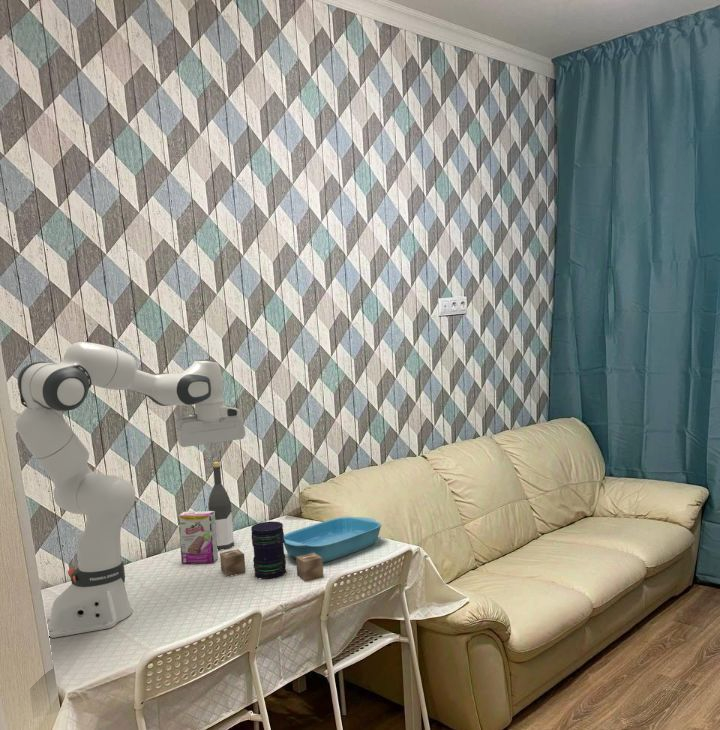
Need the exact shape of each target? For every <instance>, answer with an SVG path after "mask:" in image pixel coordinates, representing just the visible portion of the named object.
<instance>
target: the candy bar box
mask: <svg viewBox="0 0 720 730" xmlns="http://www.w3.org/2000/svg"><path fill="white" fill-rule="evenodd" d="M177 518H178V519H177V520H178V530H179V531H178V533H179V542H180V556H181V558H180V559H181V564H182V565H186V563H188V564H190V563H195V564H214V563H215V562H216V561H217V560H218V559H219V552H218V551H219V550H217V537H216V523H215V511H209V510H206V511H205V510H204V511H203V510H202V511H183V512H181V513H180V514H179V515H178V517H177ZM217 558H218V559H217ZM216 559H217V560H216ZM188 564H187V565H188ZM190 565H191V564H190Z"/></svg>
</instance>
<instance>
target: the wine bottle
mask: <svg viewBox="0 0 720 730" xmlns="http://www.w3.org/2000/svg"><path fill="white" fill-rule="evenodd" d="M212 470H213V481H214V483H213V487H212V489H211V492H210V494H209V498H208V504H207V505H208V507H207V508H208V511H215V523H216V537H217V549H224V550H228V549H227V548H229V549H231V548H233V547H234V546H235V540H234V525H233V514H232V502H231V499H230V497H229V494H228V492H227V490H226V488H224V486H223V484H222V477H221V475H222V474H221V472H222V471H221V465H220V462H219V461H215V462H213V466H212ZM232 546H233V547H232ZM230 547H231V548H230Z"/></svg>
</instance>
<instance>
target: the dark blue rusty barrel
mask: <svg viewBox="0 0 720 730" xmlns="http://www.w3.org/2000/svg"><path fill="white" fill-rule="evenodd" d="M283 528H284V524H283V523H282V522H280V521H264V522H259V523H258V522H257V523H255V524H253V525H252V526H251V527H250V530H251V544H252V548H253V560H252V561H253V569H254V570H253V571H254V577H255V578H256V577H257V578H256V579H258V578H261V579H260V580H274V579H273V578H275V579H278V577H279V578H281V577H284V576H285V575H286V574H287V567H286V566H287V565H286V564H287V561H286V554H285V546H284V535H285V533H284V529H283ZM285 573H286V574H285ZM284 574H285V575H284Z"/></svg>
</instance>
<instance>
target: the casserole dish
mask: <svg viewBox="0 0 720 730" xmlns="http://www.w3.org/2000/svg"><path fill="white" fill-rule="evenodd" d="M381 528H382V523H381V522H379V521H377V520H376V519H375V518H371V517H365V516H363V517H362V516H341V517H335V518H332V519H329V520H328V519H327V520H324V521H322V522H319V523H315V524H311V525H308V526H305V527H302V528H298V529H296V530H293V531H290V532H288V533H286V534H285V533H284V543H283V545H284V549H285V550H286V552H287V553H288V555H290V556H291V557H293V558H294V559H296V557H297V556H301V555H306V554H310V553H315V554H317V555H319V556H320V557H322V562H323V564H324V563H327V562H331V561H333V560H337V559H341V558H342V557H344V556H347V555H350V554H353V553H356V552H359V551H361V550H363V549H366V548H369V547H371V546H372V545H374V544H375V543H376V542H377V540H378V538H379V535H380V531H381Z"/></svg>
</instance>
